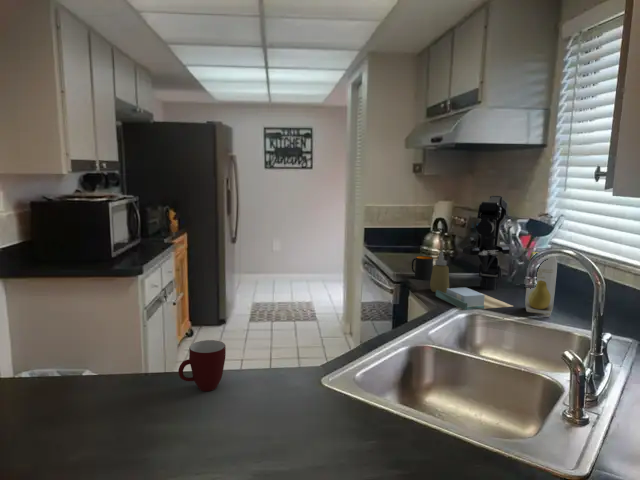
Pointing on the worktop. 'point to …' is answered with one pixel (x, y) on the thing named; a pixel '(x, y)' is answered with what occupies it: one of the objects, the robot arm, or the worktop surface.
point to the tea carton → (467, 296)
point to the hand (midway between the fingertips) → (484, 270)
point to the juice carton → (542, 289)
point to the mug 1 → (205, 364)
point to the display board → (488, 303)
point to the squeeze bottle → (440, 275)
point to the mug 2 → (423, 267)
